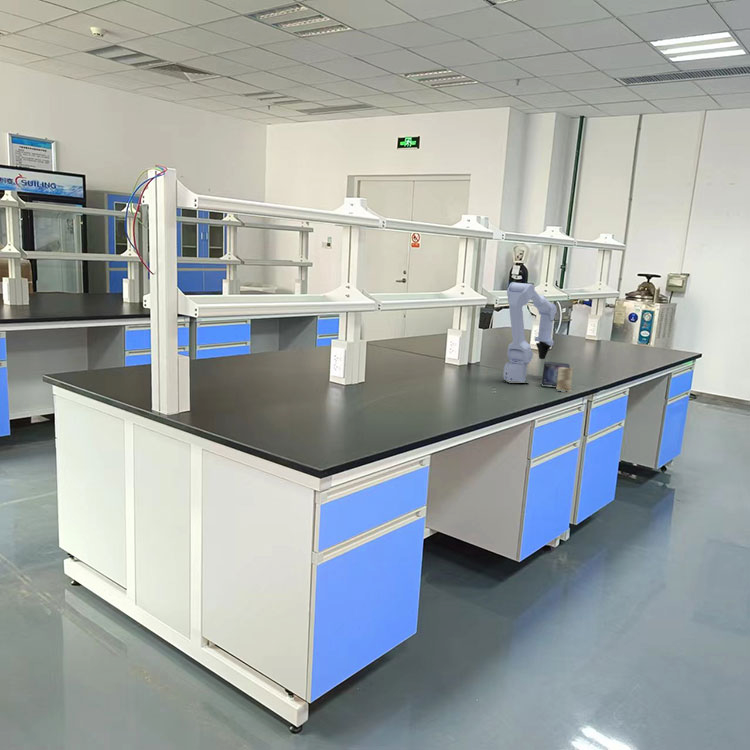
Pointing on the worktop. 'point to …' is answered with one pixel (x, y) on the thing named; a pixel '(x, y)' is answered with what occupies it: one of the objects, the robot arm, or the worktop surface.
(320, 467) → the worktop surface
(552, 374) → the small box
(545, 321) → the robot arm
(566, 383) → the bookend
